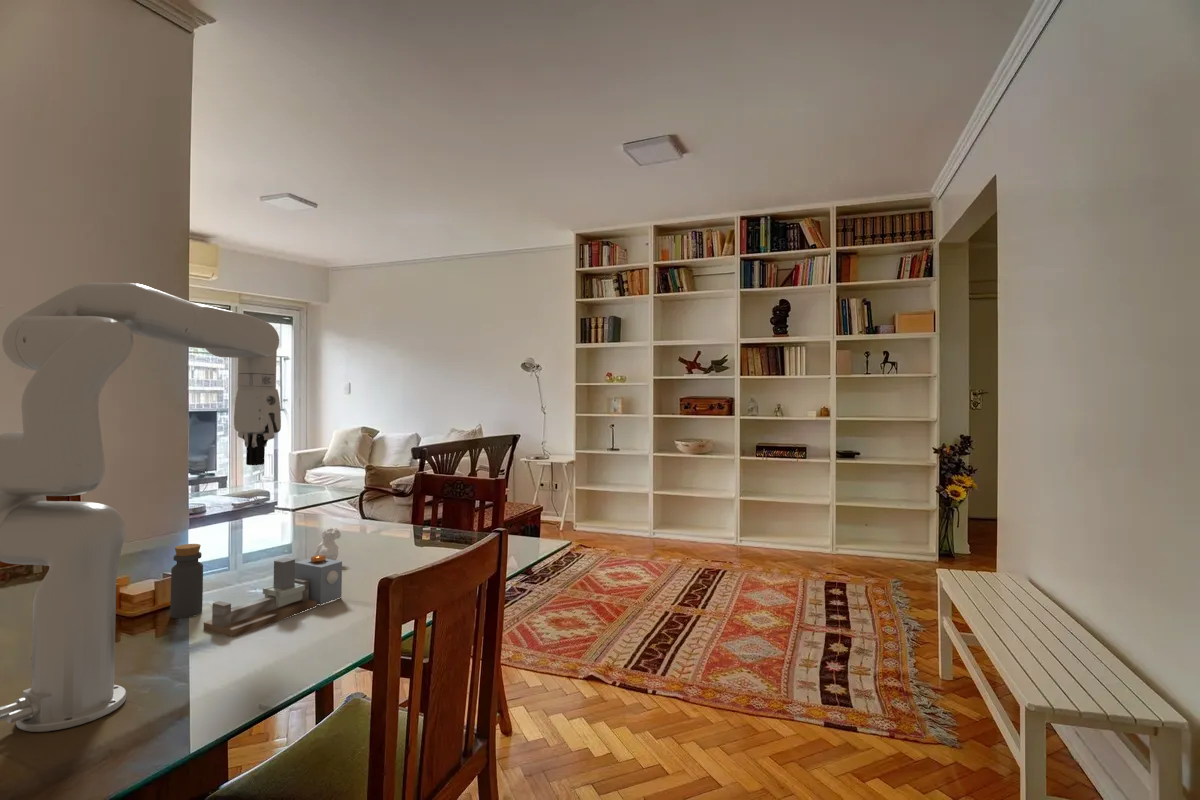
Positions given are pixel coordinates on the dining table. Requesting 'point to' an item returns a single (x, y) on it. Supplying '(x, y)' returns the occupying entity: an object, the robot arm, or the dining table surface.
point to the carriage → (284, 583)
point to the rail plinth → (261, 619)
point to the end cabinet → (321, 579)
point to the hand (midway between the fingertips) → (255, 464)
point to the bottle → (186, 582)
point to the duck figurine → (329, 544)
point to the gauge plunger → (318, 559)
